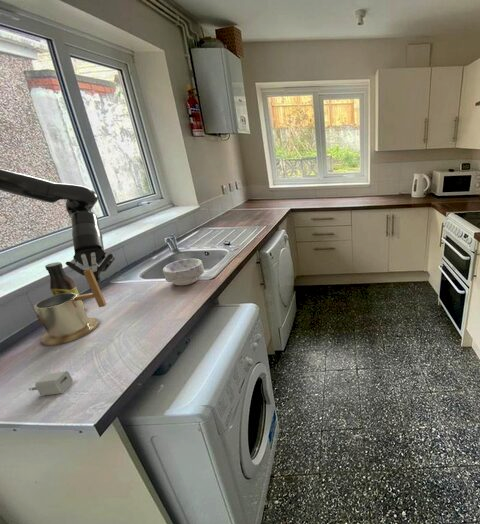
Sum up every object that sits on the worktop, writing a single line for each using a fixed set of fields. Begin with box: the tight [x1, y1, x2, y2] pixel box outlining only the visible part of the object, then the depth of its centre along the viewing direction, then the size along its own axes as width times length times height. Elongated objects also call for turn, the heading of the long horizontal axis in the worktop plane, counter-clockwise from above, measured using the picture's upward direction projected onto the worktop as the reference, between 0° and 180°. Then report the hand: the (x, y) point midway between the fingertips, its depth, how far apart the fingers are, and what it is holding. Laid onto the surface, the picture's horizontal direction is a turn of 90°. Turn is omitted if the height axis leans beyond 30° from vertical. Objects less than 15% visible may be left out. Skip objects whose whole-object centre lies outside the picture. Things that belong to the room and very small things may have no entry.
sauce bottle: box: [45, 261, 86, 311], centre depth 101 cm, size 6×6×20 cm
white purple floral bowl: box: [162, 258, 205, 286], centre depth 126 cm, size 15×15×8 cm
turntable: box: [40, 317, 100, 346], centre depth 94 cm, size 14×14×1 cm
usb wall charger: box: [28, 370, 74, 397], centre depth 70 cm, size 4×7×4 cm, turn 99°
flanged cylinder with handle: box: [33, 269, 107, 339], centre depth 92 cm, size 16×10×19 cm, turn 114°
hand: (94, 283), depth 94 cm, fingers closed
